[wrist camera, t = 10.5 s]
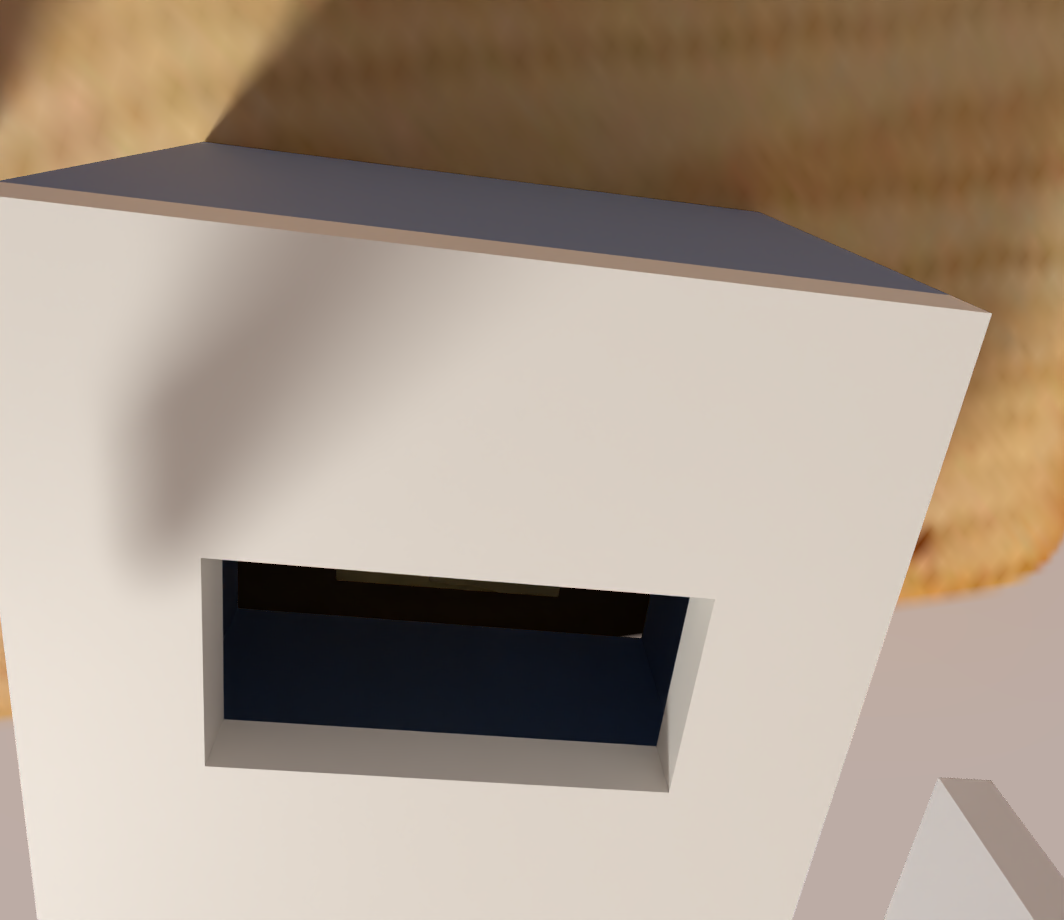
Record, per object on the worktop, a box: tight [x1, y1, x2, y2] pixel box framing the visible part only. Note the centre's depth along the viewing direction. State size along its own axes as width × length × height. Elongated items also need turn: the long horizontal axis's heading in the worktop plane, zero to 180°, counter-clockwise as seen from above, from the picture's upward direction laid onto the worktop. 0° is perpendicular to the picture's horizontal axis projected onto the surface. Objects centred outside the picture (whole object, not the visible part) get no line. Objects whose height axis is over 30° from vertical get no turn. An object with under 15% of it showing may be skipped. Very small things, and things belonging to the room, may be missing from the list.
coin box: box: [0, 142, 992, 920], centre depth 20 cm, size 14×14×11 cm
